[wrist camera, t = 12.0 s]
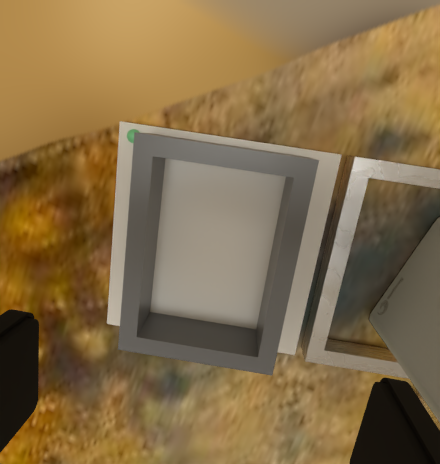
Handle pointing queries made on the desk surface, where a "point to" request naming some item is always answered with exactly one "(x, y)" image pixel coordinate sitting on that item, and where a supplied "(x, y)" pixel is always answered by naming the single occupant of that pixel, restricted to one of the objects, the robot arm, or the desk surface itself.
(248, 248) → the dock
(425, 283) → the hard drive
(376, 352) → the rectangular frame tray
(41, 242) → the desk surface
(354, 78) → the desk surface
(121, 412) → the desk surface
